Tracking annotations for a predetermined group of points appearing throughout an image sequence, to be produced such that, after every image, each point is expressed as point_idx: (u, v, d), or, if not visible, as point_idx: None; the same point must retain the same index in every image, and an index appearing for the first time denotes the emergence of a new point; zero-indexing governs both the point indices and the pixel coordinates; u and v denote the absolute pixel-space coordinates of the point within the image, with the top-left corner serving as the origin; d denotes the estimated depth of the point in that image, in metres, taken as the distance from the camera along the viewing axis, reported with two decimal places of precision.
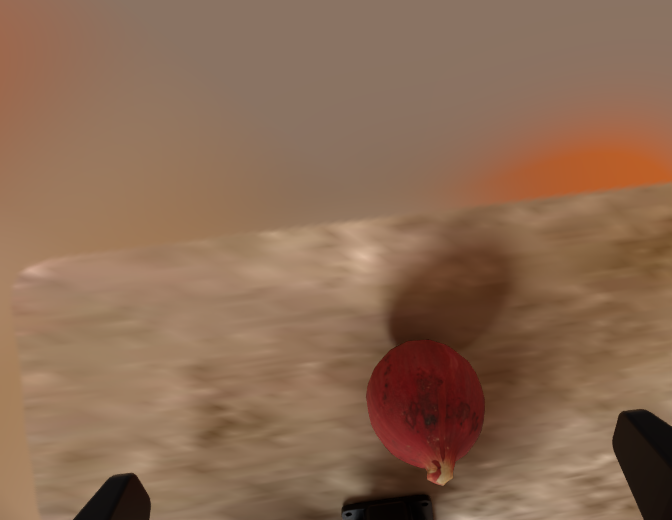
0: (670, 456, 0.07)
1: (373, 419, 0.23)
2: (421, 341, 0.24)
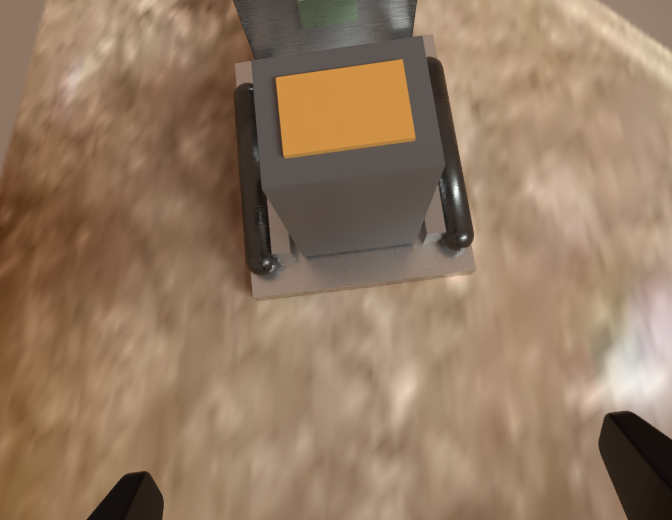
0: (653, 458, 0.07)
1: None
2: None
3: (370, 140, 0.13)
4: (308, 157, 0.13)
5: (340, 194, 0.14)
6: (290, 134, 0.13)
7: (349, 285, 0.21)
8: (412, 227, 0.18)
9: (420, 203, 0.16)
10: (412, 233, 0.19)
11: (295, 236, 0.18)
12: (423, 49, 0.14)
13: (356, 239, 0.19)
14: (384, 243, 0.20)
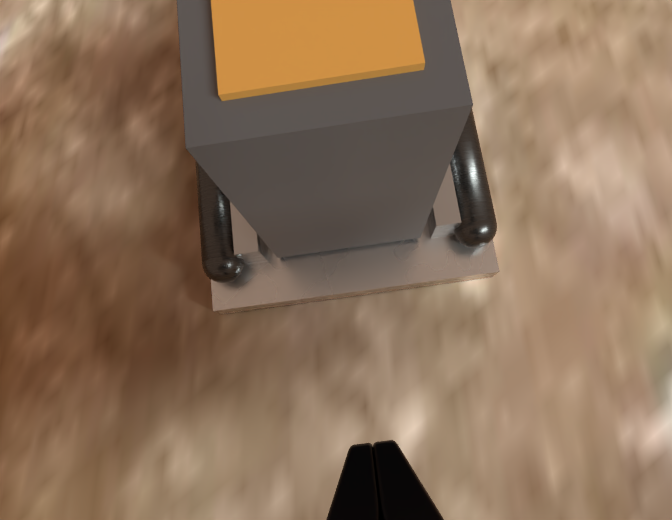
0: (383, 491, 0.07)
1: None
2: None
3: (354, 69, 0.08)
4: (258, 98, 0.08)
5: (312, 160, 0.09)
6: (230, 62, 0.08)
7: (336, 293, 0.16)
8: (417, 215, 0.14)
9: (430, 176, 0.11)
10: (417, 224, 0.15)
11: (259, 229, 0.13)
12: None
13: (343, 233, 0.15)
14: (381, 238, 0.16)
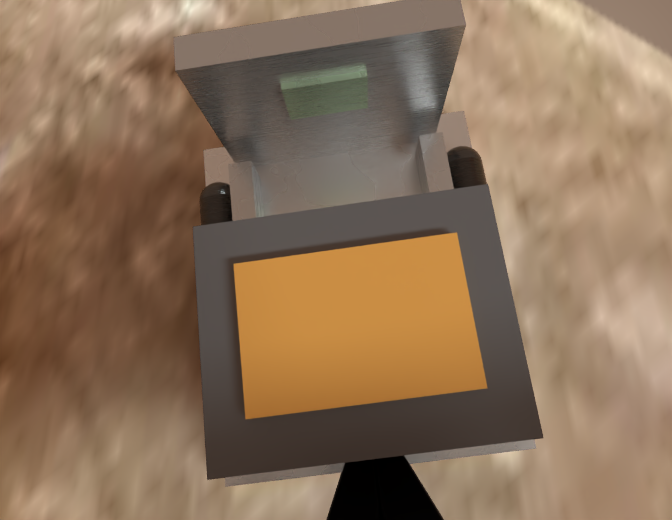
0: (383, 491, 0.07)
1: None
2: None
3: (404, 389, 0.07)
4: (291, 417, 0.07)
5: None
6: (258, 376, 0.07)
7: None
8: None
9: None
10: None
11: None
12: (490, 206, 0.08)
13: None
14: None
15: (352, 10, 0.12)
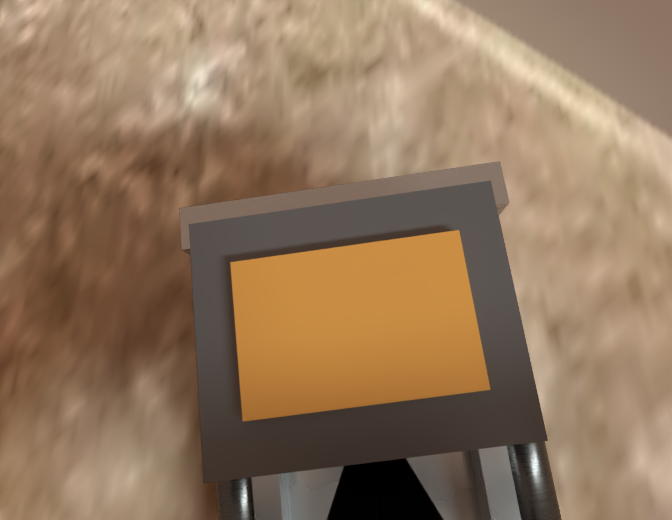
0: (383, 491, 0.07)
1: None
2: None
3: (404, 391, 0.07)
4: (290, 419, 0.07)
5: None
6: (256, 378, 0.07)
7: None
8: None
9: None
10: None
11: None
12: (493, 203, 0.08)
13: None
14: None
15: (380, 180, 0.11)
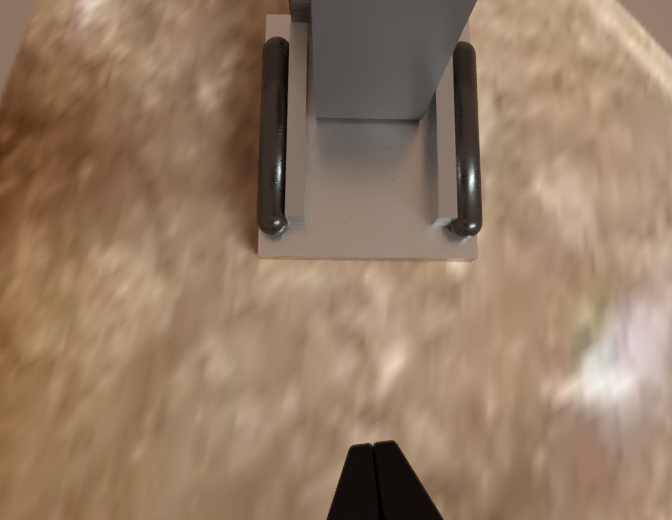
0: (383, 491, 0.07)
1: None
2: None
3: None
4: None
5: (377, 15, 0.15)
6: None
7: (354, 256, 0.22)
8: (426, 91, 0.20)
9: (443, 50, 0.17)
10: (424, 101, 0.20)
11: (318, 77, 0.19)
12: None
13: (371, 98, 0.20)
14: (394, 113, 0.22)
15: None
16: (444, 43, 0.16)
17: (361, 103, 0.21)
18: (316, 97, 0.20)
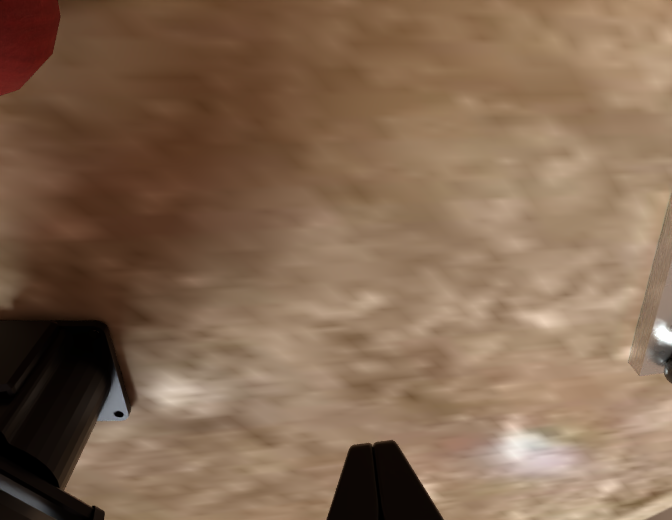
0: (383, 491, 0.07)
1: None
2: None
3: None
4: None
5: None
6: None
7: (663, 287, 0.22)
8: None
9: None
10: None
11: None
12: None
13: None
14: None
15: None
16: None
17: None
18: None
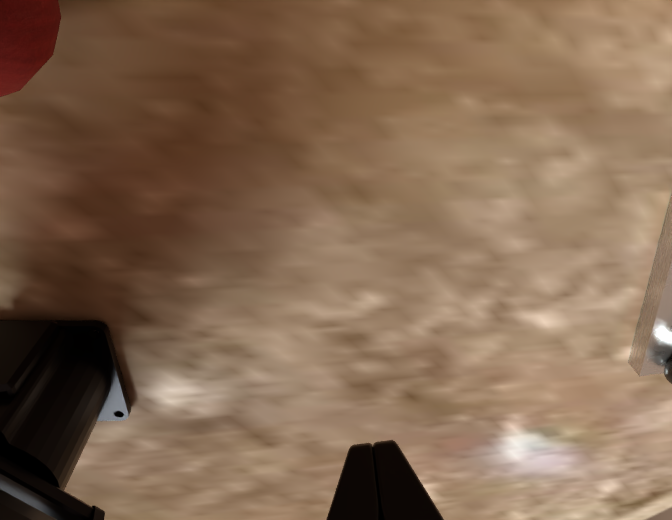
0: (383, 491, 0.07)
1: None
2: None
3: None
4: None
5: None
6: None
7: (663, 288, 0.22)
8: None
9: None
10: None
11: None
12: None
13: None
14: None
15: None
16: None
17: None
18: None
